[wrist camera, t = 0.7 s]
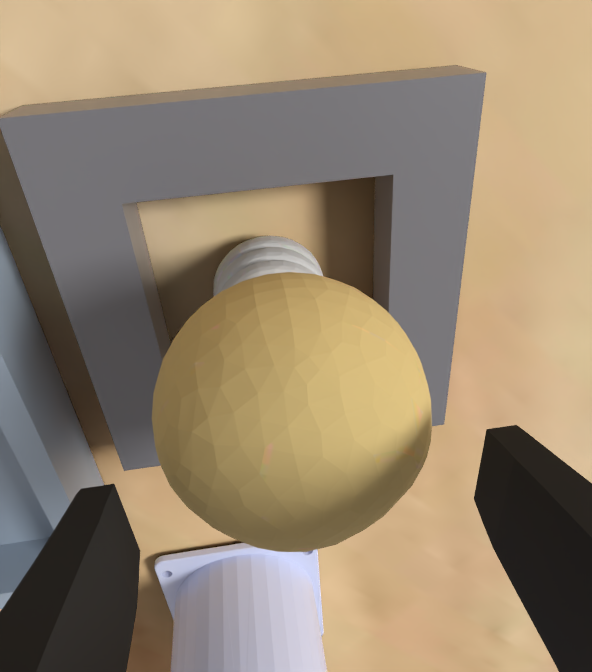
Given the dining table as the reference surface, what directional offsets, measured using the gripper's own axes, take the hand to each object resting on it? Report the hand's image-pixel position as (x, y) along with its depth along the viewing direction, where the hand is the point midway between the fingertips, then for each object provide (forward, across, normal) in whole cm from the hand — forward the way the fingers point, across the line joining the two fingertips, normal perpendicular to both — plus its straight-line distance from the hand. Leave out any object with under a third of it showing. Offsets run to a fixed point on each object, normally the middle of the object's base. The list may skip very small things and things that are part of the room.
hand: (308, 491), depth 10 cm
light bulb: (+10, 0, 0) cm, 10 cm away
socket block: (+10, 0, 0) cm, 10 cm away
